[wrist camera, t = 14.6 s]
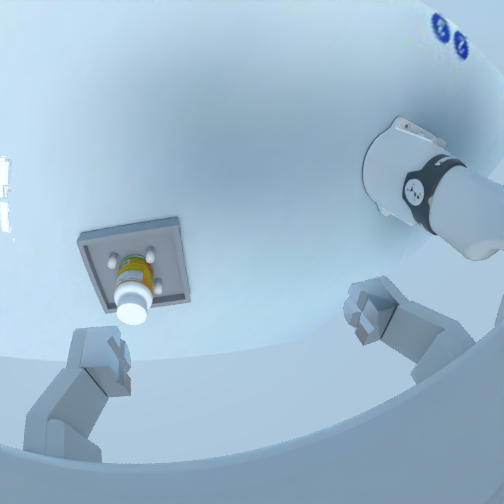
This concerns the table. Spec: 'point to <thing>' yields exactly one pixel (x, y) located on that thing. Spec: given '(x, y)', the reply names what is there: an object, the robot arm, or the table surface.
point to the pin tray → (143, 244)
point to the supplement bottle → (134, 289)
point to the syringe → (1, 177)
